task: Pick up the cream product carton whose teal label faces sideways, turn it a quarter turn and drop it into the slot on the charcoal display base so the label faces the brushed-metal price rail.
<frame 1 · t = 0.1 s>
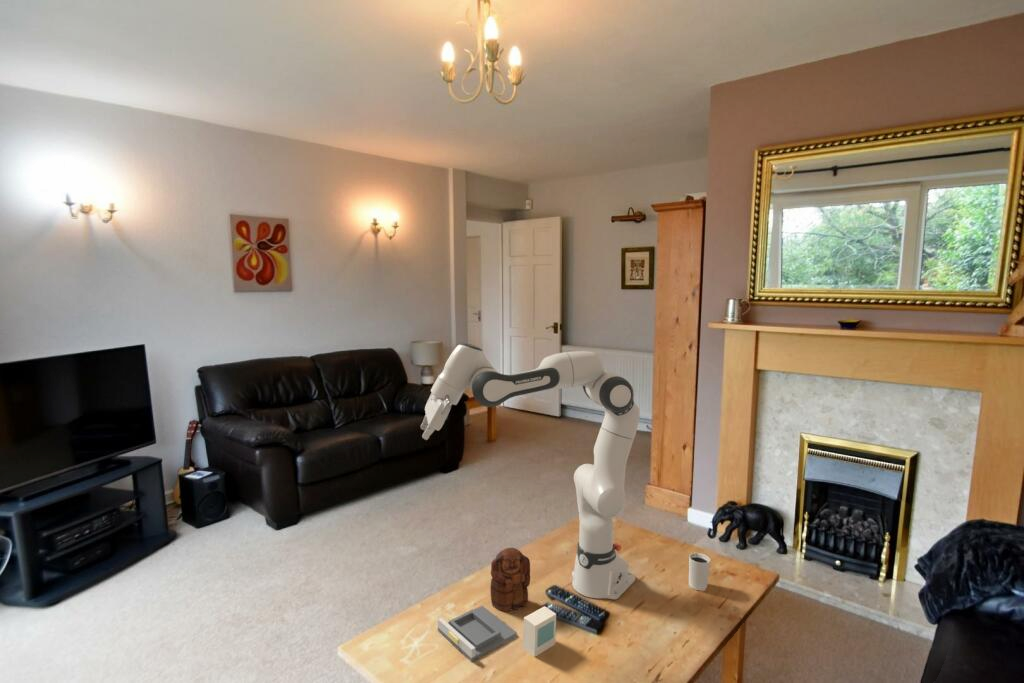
hand: (423, 433, 155), 54 cm above the table, tool tilted 30°, fingers open, 8 cm apart
display base: (477, 633, 149), on the table
product carton: (539, 646, 144), on the table
wooden figurine: (510, 605, 162), on the table
white cup: (697, 586, 175), on the table
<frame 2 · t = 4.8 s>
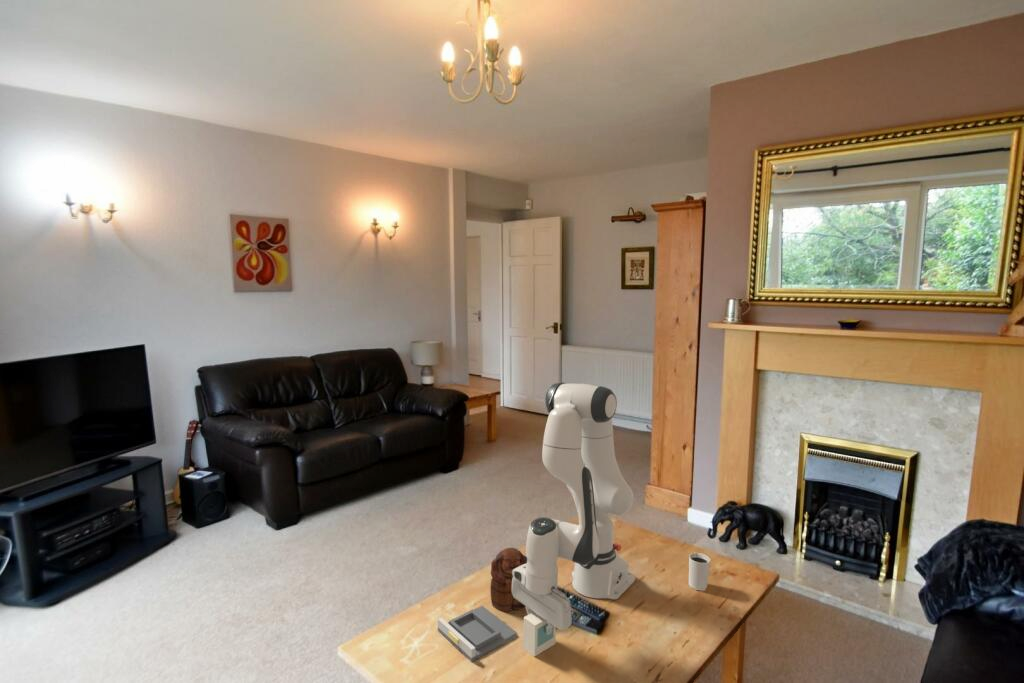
hand: (539, 627, 144), 6 cm above the table, tool pointing down, fingers closed on product carton, 5 cm apart
product carton: (539, 645, 144), on the table, touching gripper
everything else where it was.
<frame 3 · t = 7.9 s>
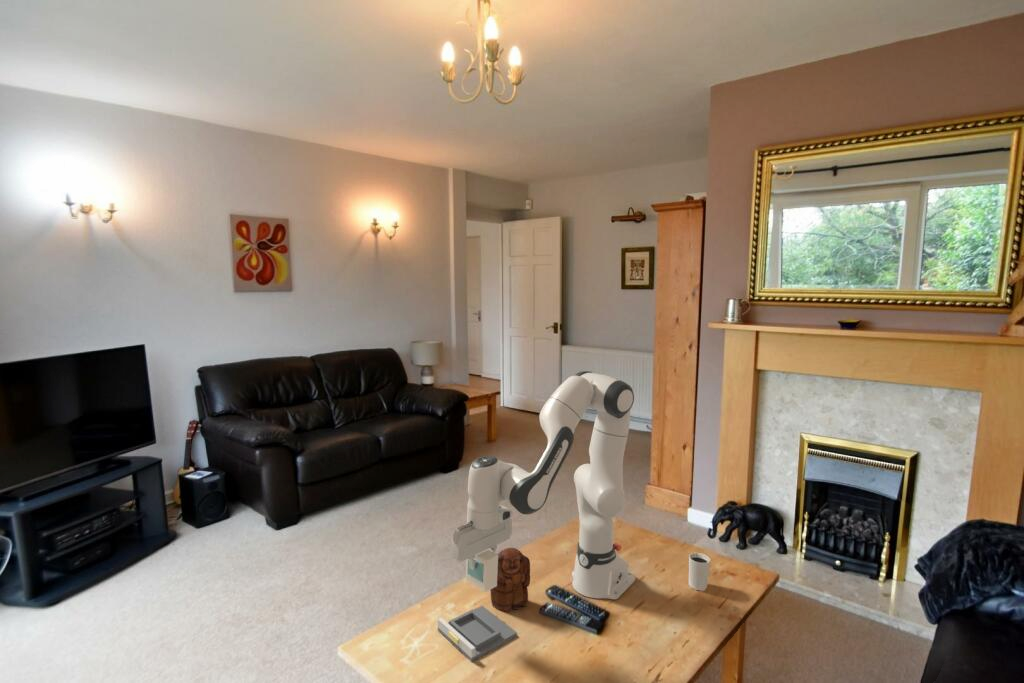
hand: (481, 564, 145), 22 cm above the table, tool pointing down, fingers closed on product carton, 5 cm apart
product carton: (481, 583, 145), point 16 cm above the table, touching gripper
everything else where it was.
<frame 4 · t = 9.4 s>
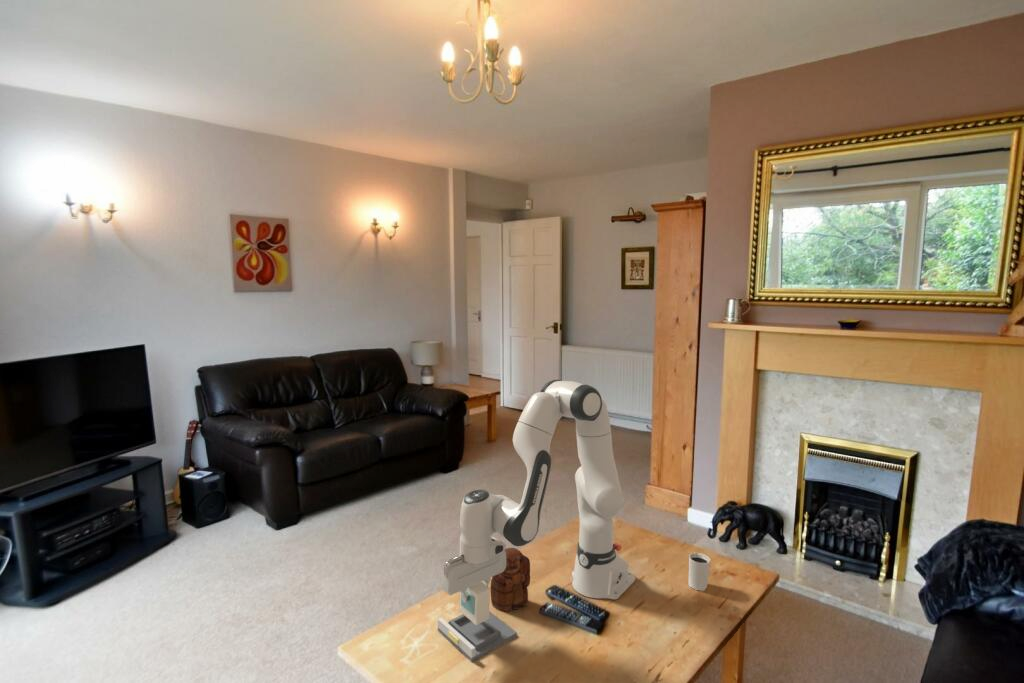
hand: (474, 596, 147), 12 cm above the table, tool pointing down, fingers closed on product carton, 5 cm apart
product carton: (474, 614, 148), point 6 cm above the table, touching gripper
everything else where it was.
when the fingers open (9 cm above the table, at t = 10.3 s): product carton drops 2 cm, resting on display base.
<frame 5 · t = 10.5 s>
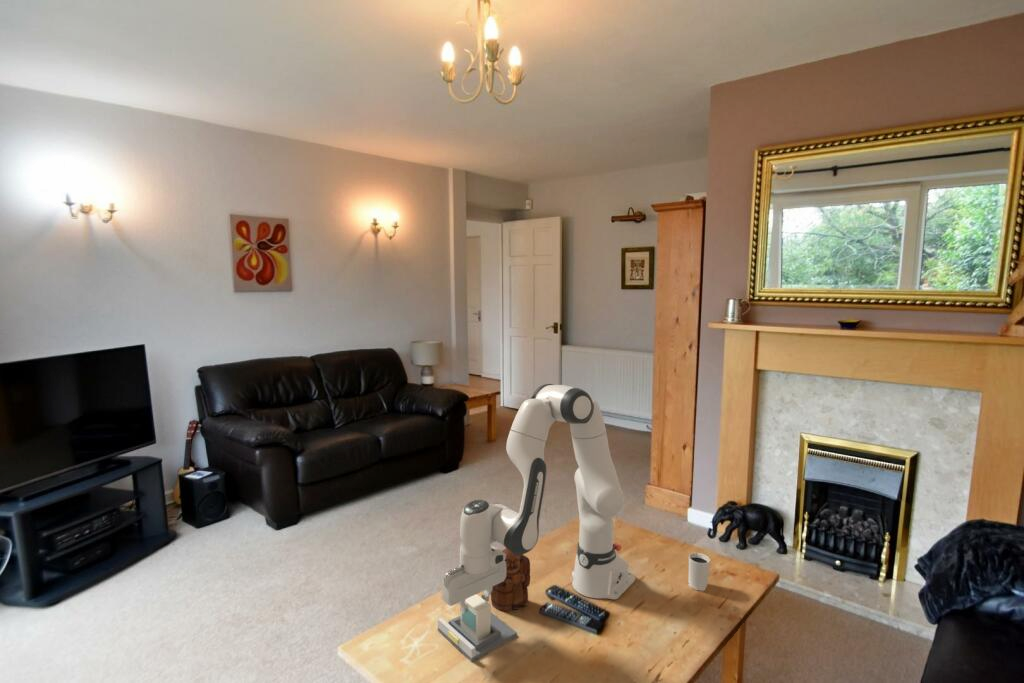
hand: (474, 606, 147), 9 cm above the table, tool pointing down, fingers open, 6 cm apart
product carton: (475, 630, 148), point 1 cm above the table, touching display base
everything else where it was.
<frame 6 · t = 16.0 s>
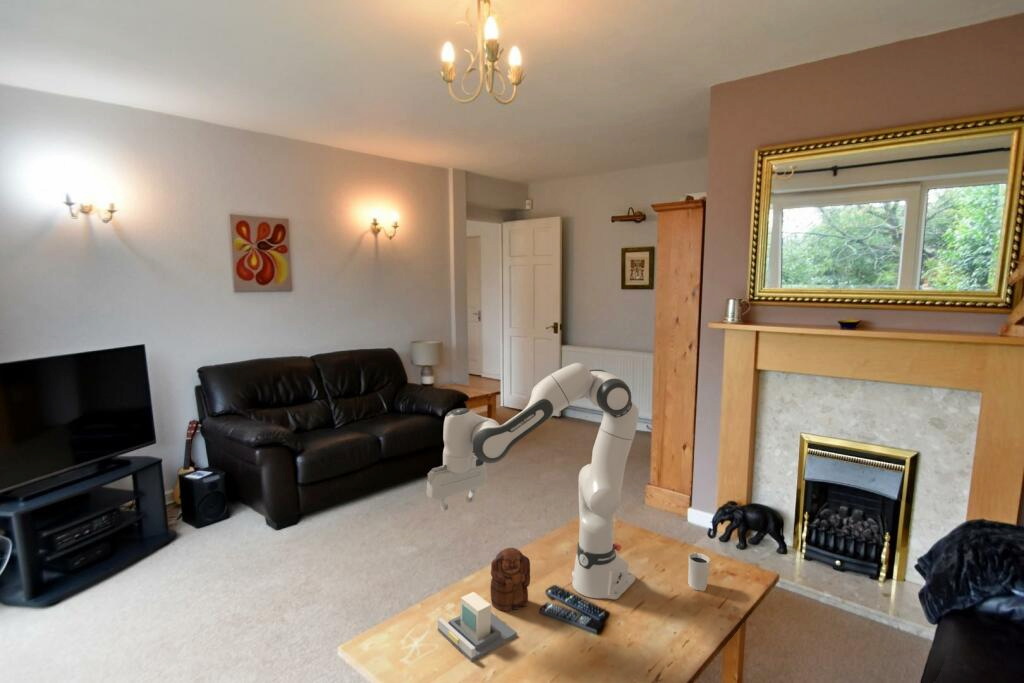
hand: (457, 505, 160), 31 cm above the table, tool pointing down, fingers open, 8 cm apart
nothing on the table moved.
at the end: product carton 0.3 cm from the target spot on the display base, point 1.0 cm above the display base's base; product carton tilted 0°; the gripper is holding nothing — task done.
